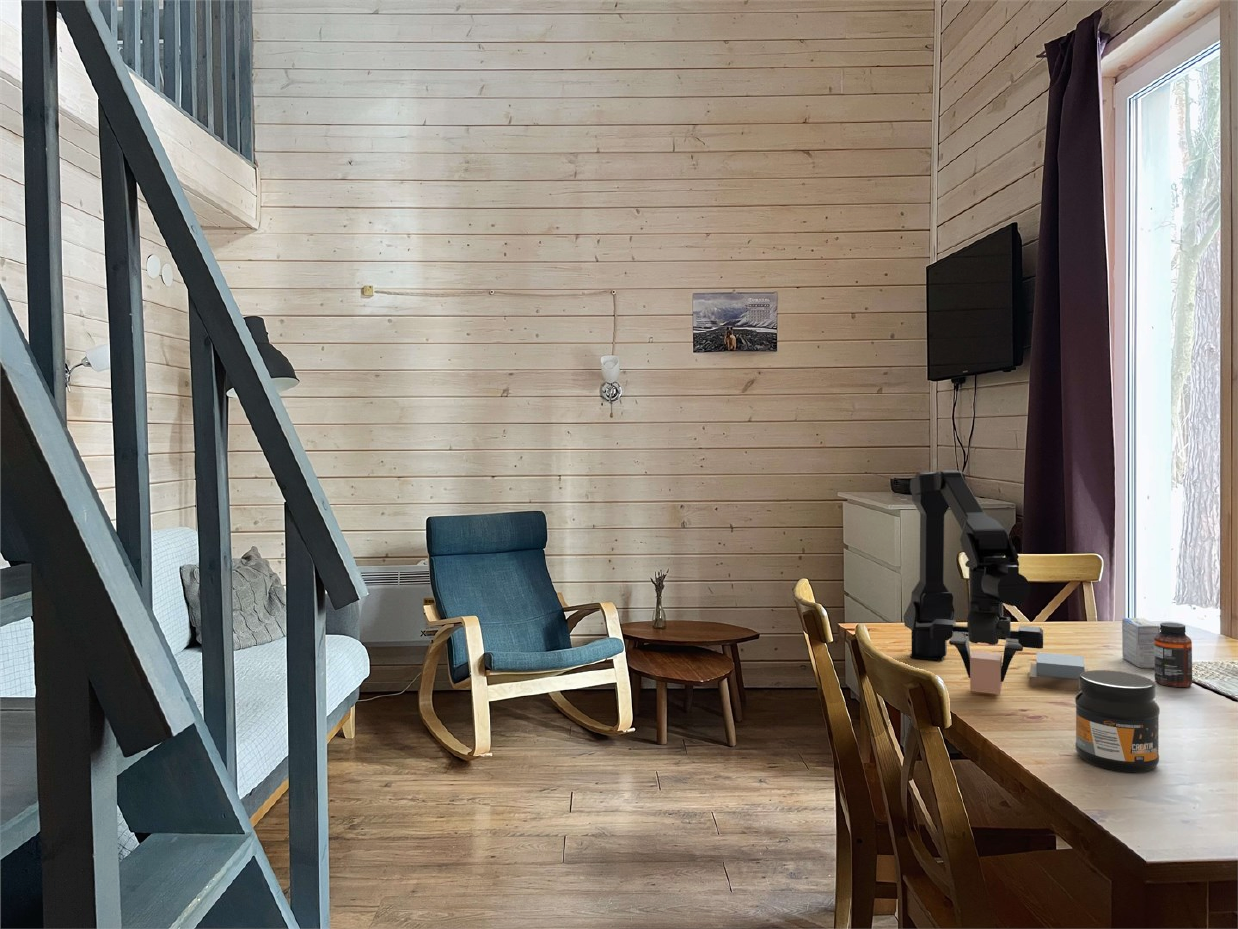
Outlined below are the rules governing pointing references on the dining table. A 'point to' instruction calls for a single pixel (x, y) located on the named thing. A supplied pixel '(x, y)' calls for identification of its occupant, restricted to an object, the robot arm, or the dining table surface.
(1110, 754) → the supplement container
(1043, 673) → the slate slab
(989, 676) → the terracotta block
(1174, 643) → the supplement bottle
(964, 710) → the dining table surface
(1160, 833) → the dining table surface
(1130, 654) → the medicine box
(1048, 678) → the walnut slab
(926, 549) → the robot arm
